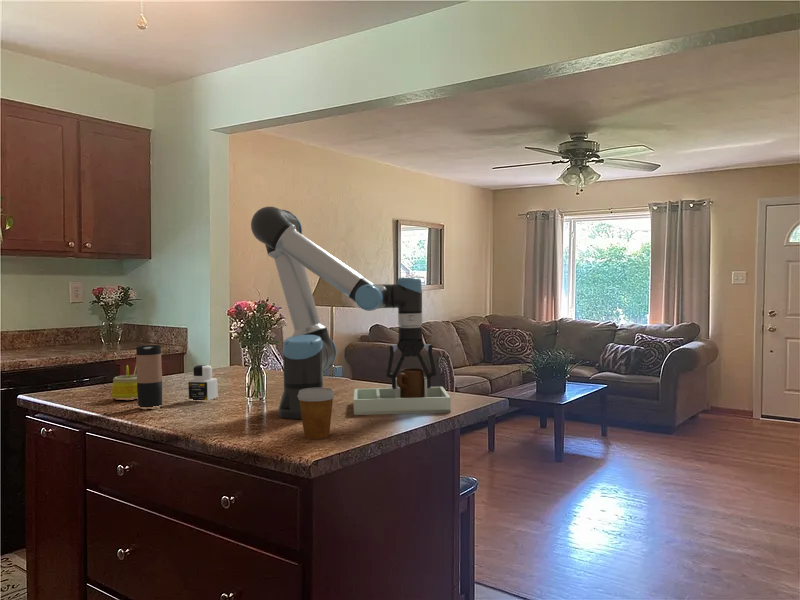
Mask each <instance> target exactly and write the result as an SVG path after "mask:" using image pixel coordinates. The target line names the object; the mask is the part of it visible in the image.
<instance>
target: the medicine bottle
mask: <svg viewBox="0 0 800 600" xmlns="http://www.w3.org/2000/svg"><path fill="white" fill-rule="evenodd" d="M187 385H188V400H189V399H193V400H210V399H213V398H216V397H218V396H219V391H218V390H219V389H218V378H215V377H213V367H212V366H211V365H210V364H209V365H208V364H201V365H198V364H197V365H196V366H194V367H193V379H192V380H191V379H190V380H188V384H187ZM218 398H219V397H218Z"/></svg>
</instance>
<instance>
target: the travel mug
mask: <svg viewBox="0 0 800 600" xmlns="http://www.w3.org/2000/svg"><path fill="white" fill-rule="evenodd" d="M135 348H136V349H135V351H136V352H135V354H136V355H135V356H136V357H135V358H136V363H135V364H137V367H136V375H137V393H138V399H137V404H138V405H137V406H140V407H153V406H159V405H162V406H163V370H162V368H163V367H162V366H163V365H162V346H161V345H157V344H155V345H154V344H151V345H138V346H136V347H135Z"/></svg>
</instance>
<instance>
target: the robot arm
mask: <svg viewBox="0 0 800 600" xmlns="http://www.w3.org/2000/svg"><path fill="white" fill-rule="evenodd" d="M250 228H251V232H252V234H253V236H254V237H255V239H256V240H258V241H259V242H260V243H262V244H264V245H265V248H266V252H267V256H268V257H270V258H272V259H273V260H274V263H275V267H276V270H277V273H278V277H279V281H280V284H281V288H282V290H283V295H284V298H285V302H286V305H287V309H288V312H289V315H290V320H291V323H292V326H293V329H294V332H293V333H292V335H291V336H289V337H287V338H286V339H284V341H283V344H282V350H281V351H282V361H283V393H282V395H281V398H280V402H279V405H278V417H280V418H283V419H289V420H290V419H291V420H302V415H301V408H300V402H299V399H298V397H297V395H298V394H299V390H301V389H306V388H324V384H323V383H324V378H323V377H324V376H323V373H324V372H326V371H327V370H329V369H330V368H331V366H333V364H334V363H335V361H336V358H337V352H338V351H337V350H338V349H337V346H336V343H335V342H334V341H333V340H332V338H331V337H330V335H329V331H328V328H327V326H325V325H324V324H322V323H321V320H320V317H319V313H318V311H317V307H316V303H315V298H314V295H313V293H312V289H311V285H310V281H309V278H308V275H307V271H306V269H307V270H309V271H310V272H312V273H313V274H315V275H316V276H317V277H319V278H320V279H322V280H323V281H325V282H326V283H328V284H329V285H330V286H332V287H334V288H335V289H337V290H338V291H339V292H341V293H343V294H344V295H345V296H346V297H348V298H349V299H350V300H352V301H353V302H355V303H356V305H357V306H358V307H359V309H362V310H364V311H376V310H377V309H396V308H397V309H398V310H397V319H398V320H397V325H398V326H399V327H398V329H397V330H398V332H397V333H398V334H397V335H398V341H397V344H389V345H388V349H389V350H388V351H389V354H388V355H389V356H388V360H387V367H386V371H385V376H386V377H387V378H390V380H391V388H393V389H396V398H398V388H399V387H398V385H397V376H398V374H399V371H400V370H401V367H402V364H403V362H404V360H405V358H407V357H416V358H417V359H418V362H419V363H420V366H421V369H423V371H424V375H425V376H424V397H427V388H430V387H432V385H431V384H432V382H431V379H432V378H433V377H434V376H435V377H436V376H437V370H436V366H435V360H434V356H433V345H432V344H431V343H429V344H427V343H425V342H424V340H423V327H421V326H422V325H423V291H422V290H423V289H422V280H421V279H420V278H419V277H399V278H398V279H397V282H396V283H394V284H393V283H391V284H386V283H385V284H382V283H381V284H380V283H379V284H378V283H373V282H371V281H370V280H369V279H367V278H366V277H365V276H363V275H361V274H360V273H359V272H357V270H354V269H353V268H351V267H350V266H349V265H347V264H345V263H344V261H343V262H342V261H341V260H340V259H339V258H337V257H335V255H334V256H333V255H332V254H331V253H329V252H328V251H327V250H325V249H324V248H322V247H321V246H320V245H318V244H316V243H315V242H313V241H312V240H310V239H309V238H308V237H307V236H305V235H303V227H302V224H301V221H300V219H299V218H298V217H297V215H295V214H293V213H292V212H291V211H289V210H286V209H280V208H278V207H275V206H265V207H262V208H260V209H258V210H257V211H256V212H255V213H254V214H253V216H252V218H251V222H250ZM397 349H398V350H399V351H400V352H401V353H400V355H399V357H398V361H397V363H396V365H395V367H394V370H393V372H392V365H393V361H394V355H395V353H396V351H397ZM423 349H425V351H426V352H427V357H428V360H429V366H430V371H431V372H429V369H428V367H427V366H426V363H425V361H424V359H423V357H422V355H421V352H422V350H423ZM391 372H392V373H391Z"/></svg>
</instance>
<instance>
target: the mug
mask: <svg viewBox="0 0 800 600" xmlns="http://www.w3.org/2000/svg"><path fill="white" fill-rule="evenodd" d="M399 371H400V372H399V373H398V374H397V376H396V378H397V385H398V388H400V397H401V398H422V397H424V377H425V372H424V370H423V368H415V367H414V368H413V367H411V368H409V367H408V368H402V369H401V368H400V369H399Z"/></svg>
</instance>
